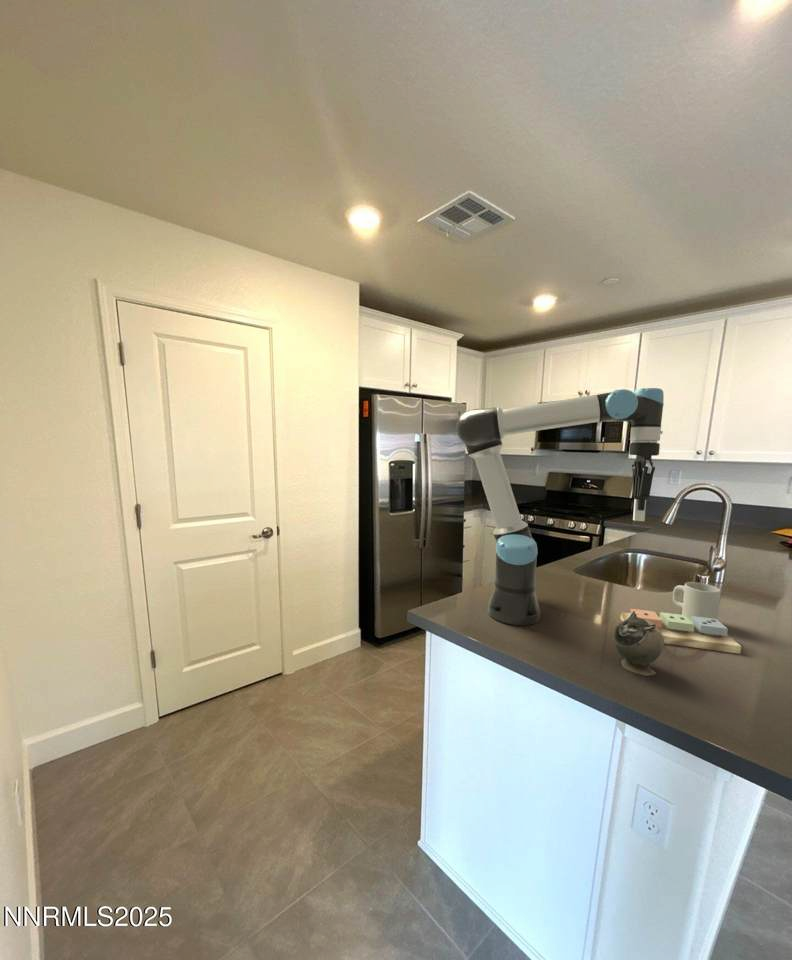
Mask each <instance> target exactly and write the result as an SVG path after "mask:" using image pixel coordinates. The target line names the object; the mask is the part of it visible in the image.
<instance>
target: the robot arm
mask: <svg viewBox="0 0 792 960" xmlns="http://www.w3.org/2000/svg"><path fill="white" fill-rule="evenodd" d="M664 395H665V394H664V390H663V389H662V388H657V387H647V388H644V387H643V388H638V389H635V390H634V391H632V390H629V389H625V388H624V389H623V388H622V389H614V391H609V392H604V393H599V394H592V395H586V396H579V397H573V398H565V399H561V400H555V401H549V402H548V401H547V402H543V403H535V404H530V405H524V406H518V407H512V408H511V407H510V408H506V409H505V408H504V409H502V408H501V407H499V406H496V407H487V408H474V409H473V408H472V409H469V410H467V411H465V412H464V413H462V414H461V416H460V417H459V418H458V420H457V423H456V433H457V436H458V438H459V439H460V440H461V442H462V443H464V445H465V448H466V452H467V454H468V457H470V458H471V459H473V460H474V461H475V465H476V468H477V471H478V472H477V473H478V474H479V477H480V480H481V485H482V487H483V490H484V494H485V496H486V501H487V503H488V506H489V508H490V512H491V515H492V519H493V522H494V525H495V529H494V530H493V532H492V534H493V537H494V540H495V544H496V545H495V553H496V554H495V576H494V578H495V579H494V588H493V590H492V594H491V595H490V598H489V600H488V604H487V613H488V615H489V616H490V617H491V618H492V619H494V620H495V621H498V622H501V623H503V624H509V625H513V626H530V625H534V624H536V623H538V622H539V621H540V618H541V616H540V615H541V610H540V607H539V602H538V599H537V595H536V580H537V578H536V576H537V575H536V574H537V561H538V560H537V558H538V557H537V556H538V554H539V551H538V545H537V541H535V539H534V538H533V537H532V533H531V531H530V527H529V523H527V522H525V521H523V520H522V517H521V514H520V511H519V508H518V505H517V504H518V503H517V502H516V498H515V496H514V492H513V489H512V486H511V483H510V480H509V476H508V474H507V470H506V467H505V463H504V461H503V458H502V454H501V449H502V447H503V446H504V445H503V442H502V440H503V439H504V438H505V437H506V436H510V435H516V434H523V433H530V432H537V431H542V430H543V431H544V430H545V431H546V430H551V429H556V428H557V429H559V428H566V427H572V426H579V425H587V424H591V423H603V422H607V423H608V422H610V423H611V422H612V423H613V422H620V423H621V422H631V427H630V437H629V441H632V442H630V443H629V452H628V453H629V455H631V456H636V457H635V459H634V461H633V464H632V465H631V470H632V471H631V472H632V487H631V488H632V492H631V494H632V496H633V500H634V501H633V502H634V503H633V514H632V515H633V516H632V520H633V521H635V522H645V520H646V508H647V507H646V506H647V500H648V499H650V495H651V489H652V483H653V477H654V474H655V473H654V472H655V470H656V466H654V462H653V458H652V457H653V456H657V457H658V456H659V455H660V445H661V444H660V443H659V442H660V441H661V435H663V433H664V432H663V430H662V422H663V421H662V420H663V410H664V406H665V404H664Z"/></svg>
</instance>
